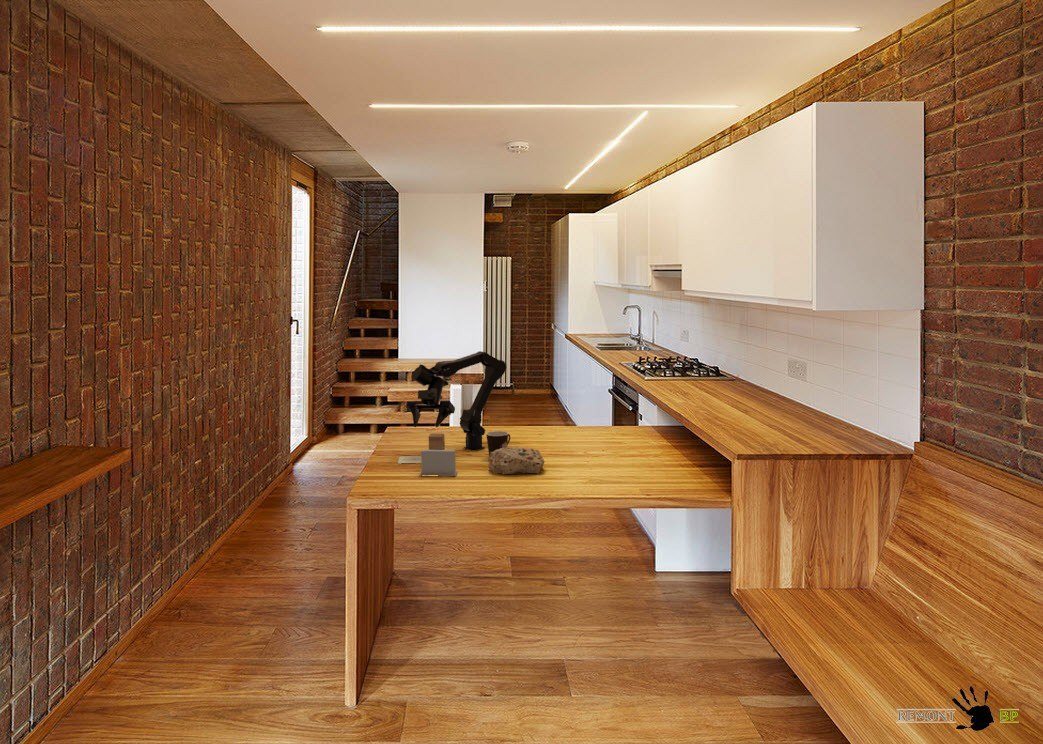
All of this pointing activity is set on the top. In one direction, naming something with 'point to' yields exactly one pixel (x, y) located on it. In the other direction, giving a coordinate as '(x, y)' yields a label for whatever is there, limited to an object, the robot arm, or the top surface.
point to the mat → (409, 459)
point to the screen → (438, 462)
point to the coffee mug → (497, 440)
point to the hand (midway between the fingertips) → (425, 426)
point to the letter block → (436, 441)
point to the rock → (515, 461)
